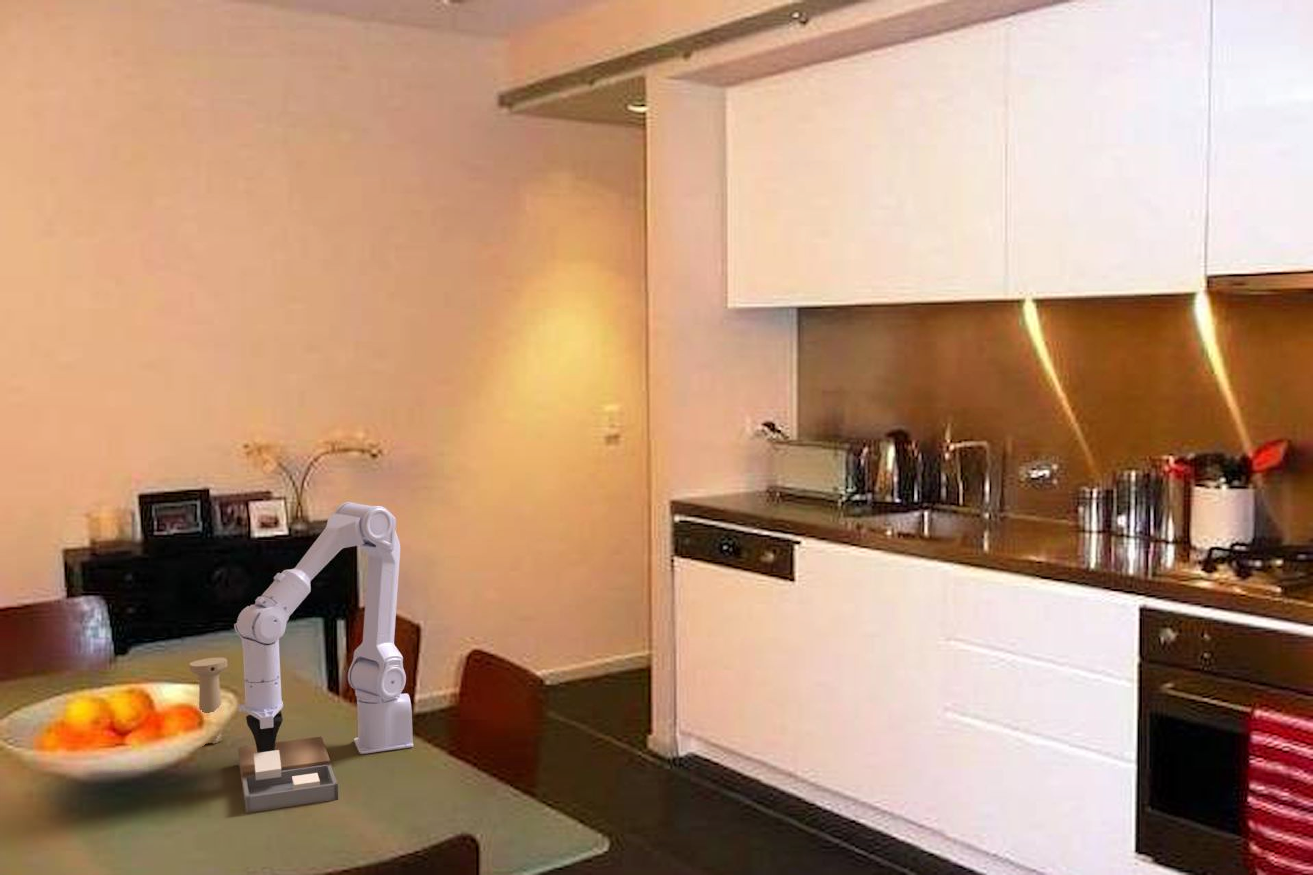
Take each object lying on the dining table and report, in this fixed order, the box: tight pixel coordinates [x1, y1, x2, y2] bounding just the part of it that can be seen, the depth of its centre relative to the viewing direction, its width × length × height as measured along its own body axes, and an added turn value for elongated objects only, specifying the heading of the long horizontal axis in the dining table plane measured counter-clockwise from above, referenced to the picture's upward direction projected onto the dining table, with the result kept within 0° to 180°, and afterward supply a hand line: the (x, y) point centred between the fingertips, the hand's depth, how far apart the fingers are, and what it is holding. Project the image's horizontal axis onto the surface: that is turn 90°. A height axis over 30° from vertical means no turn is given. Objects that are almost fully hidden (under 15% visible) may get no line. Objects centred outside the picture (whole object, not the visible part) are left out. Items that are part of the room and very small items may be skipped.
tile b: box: [254, 750, 281, 780], centre depth 201 cm, size 4×4×2 cm
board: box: [237, 736, 331, 789], centre depth 209 cm, size 14×13×3 cm
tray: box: [241, 763, 339, 814], centre depth 198 cm, size 14×10×2 cm
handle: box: [188, 657, 228, 744], centre depth 223 cm, size 5×6×15 cm
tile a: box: [292, 773, 320, 789], centre depth 198 cm, size 4×4×2 cm
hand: (266, 757), depth 204 cm, fingers closed
